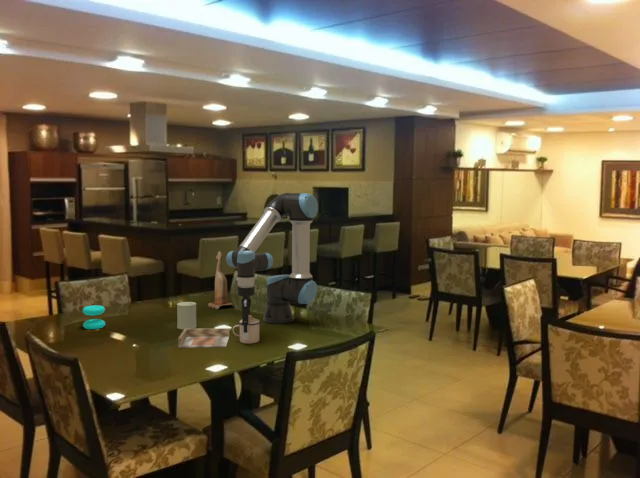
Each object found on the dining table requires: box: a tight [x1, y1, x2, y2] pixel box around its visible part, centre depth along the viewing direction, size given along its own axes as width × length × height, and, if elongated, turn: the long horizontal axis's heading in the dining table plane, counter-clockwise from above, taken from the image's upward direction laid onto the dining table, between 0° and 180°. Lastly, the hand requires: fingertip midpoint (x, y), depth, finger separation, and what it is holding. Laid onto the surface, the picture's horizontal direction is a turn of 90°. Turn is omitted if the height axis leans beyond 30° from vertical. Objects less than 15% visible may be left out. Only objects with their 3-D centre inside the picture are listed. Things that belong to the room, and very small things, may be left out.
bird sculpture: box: [207, 250, 236, 310], centre depth 338 cm, size 11×12×32 cm
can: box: [176, 301, 197, 330], centre depth 291 cm, size 9×9×12 cm
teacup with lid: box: [231, 314, 261, 345], centre depth 266 cm, size 12×9×12 cm
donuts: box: [82, 304, 106, 330], centre depth 289 cm, size 10×10×10 cm
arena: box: [177, 327, 230, 349], centre depth 264 cm, size 20×17×4 cm
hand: (246, 336), depth 267 cm, fingers closed on teacup with lid, 9 cm apart
